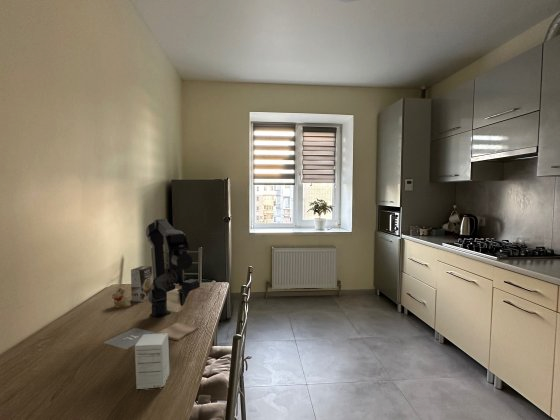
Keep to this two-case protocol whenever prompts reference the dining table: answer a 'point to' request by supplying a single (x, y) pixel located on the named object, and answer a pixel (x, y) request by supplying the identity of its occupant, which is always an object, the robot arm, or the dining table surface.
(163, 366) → the supplement box
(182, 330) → the walnut board
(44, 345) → the dining table surface
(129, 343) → the slate gray tile
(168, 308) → the maple block
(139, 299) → the coffee box
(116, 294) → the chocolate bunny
